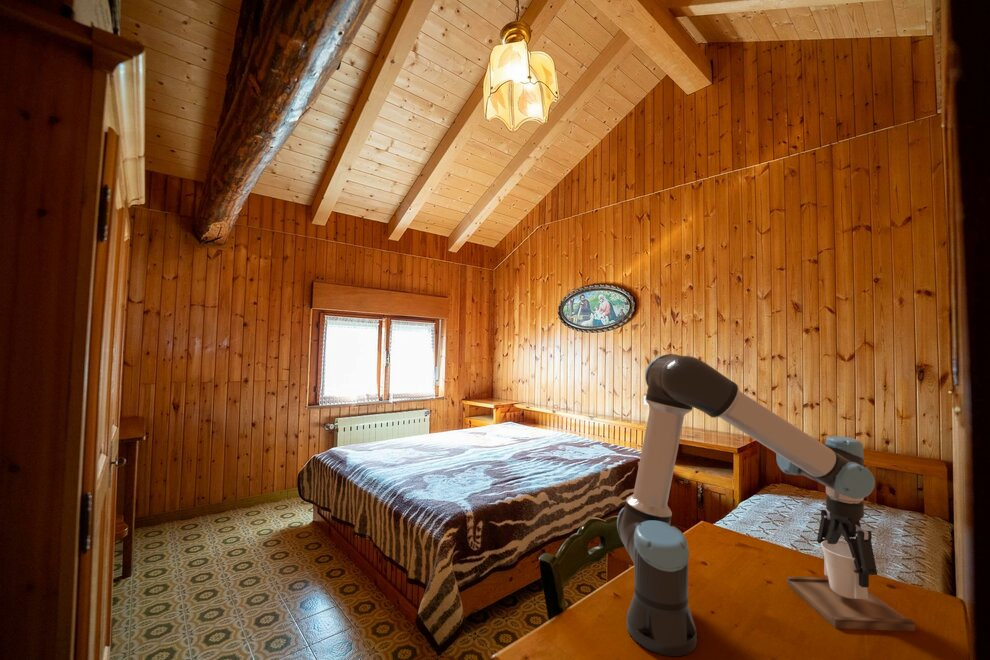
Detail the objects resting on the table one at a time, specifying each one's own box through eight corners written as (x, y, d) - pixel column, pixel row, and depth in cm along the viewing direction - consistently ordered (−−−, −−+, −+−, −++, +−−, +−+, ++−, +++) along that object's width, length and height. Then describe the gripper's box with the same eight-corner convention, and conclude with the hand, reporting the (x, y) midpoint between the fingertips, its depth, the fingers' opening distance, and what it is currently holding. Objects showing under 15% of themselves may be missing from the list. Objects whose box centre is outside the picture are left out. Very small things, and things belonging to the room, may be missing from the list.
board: (835, 628, 101) (835, 619, 101) (786, 584, 119) (786, 576, 119) (914, 631, 100) (914, 622, 100) (853, 586, 118) (853, 578, 118)
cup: (880, 606, 104) (880, 561, 104) (834, 601, 106) (834, 556, 106) (855, 583, 113) (855, 542, 113) (813, 579, 115) (813, 538, 115)
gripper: (898, 516, 99) (898, 614, 98) (828, 484, 121) (828, 563, 120) (864, 515, 99) (864, 613, 99) (800, 483, 121) (801, 562, 121)
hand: (844, 586), depth 109 cm, fingers closed on cup, 9 cm apart
